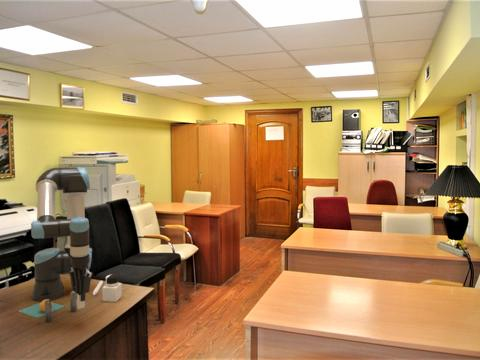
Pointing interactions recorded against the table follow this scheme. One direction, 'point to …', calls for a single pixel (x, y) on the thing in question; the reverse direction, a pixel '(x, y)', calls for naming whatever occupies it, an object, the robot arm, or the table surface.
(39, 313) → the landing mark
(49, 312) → the post
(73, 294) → the post
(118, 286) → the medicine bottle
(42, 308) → the ball
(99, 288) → the marker
